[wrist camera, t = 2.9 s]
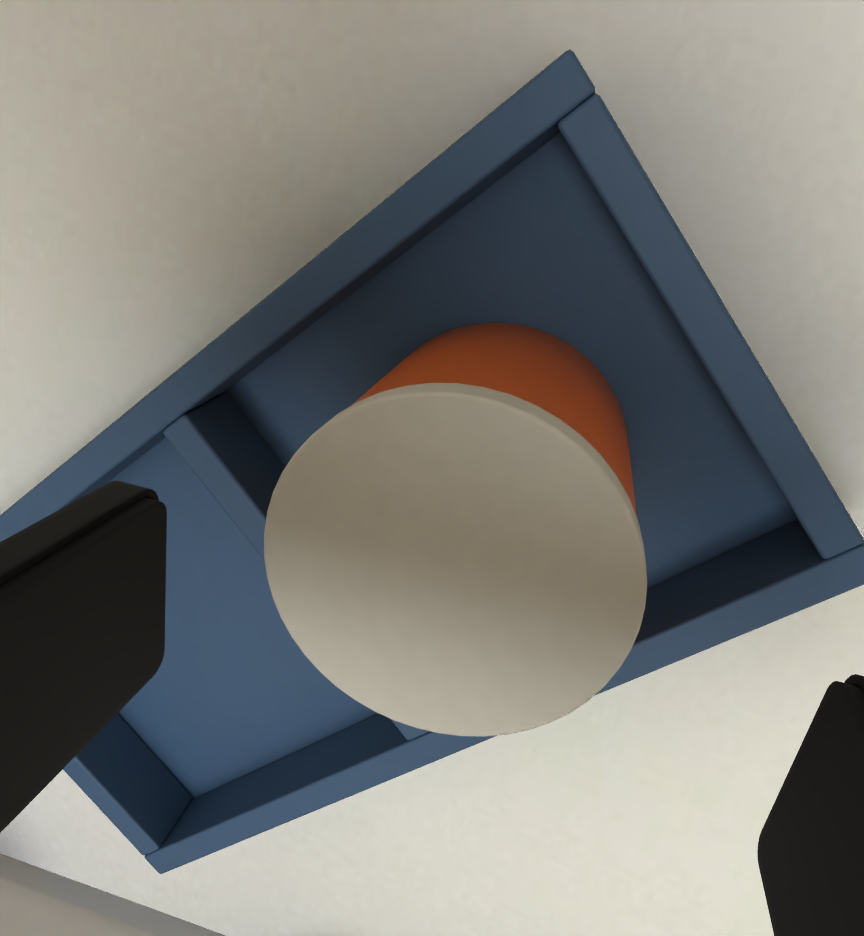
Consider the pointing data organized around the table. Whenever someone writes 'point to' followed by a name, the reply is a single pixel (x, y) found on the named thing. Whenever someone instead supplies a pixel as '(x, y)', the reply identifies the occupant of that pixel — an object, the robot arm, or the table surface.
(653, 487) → the blue divided tray
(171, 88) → the table surface
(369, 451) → the food tub
